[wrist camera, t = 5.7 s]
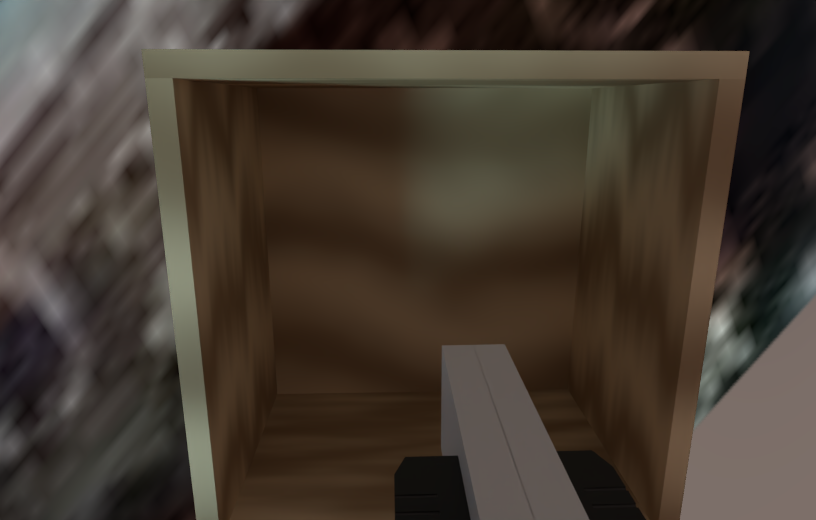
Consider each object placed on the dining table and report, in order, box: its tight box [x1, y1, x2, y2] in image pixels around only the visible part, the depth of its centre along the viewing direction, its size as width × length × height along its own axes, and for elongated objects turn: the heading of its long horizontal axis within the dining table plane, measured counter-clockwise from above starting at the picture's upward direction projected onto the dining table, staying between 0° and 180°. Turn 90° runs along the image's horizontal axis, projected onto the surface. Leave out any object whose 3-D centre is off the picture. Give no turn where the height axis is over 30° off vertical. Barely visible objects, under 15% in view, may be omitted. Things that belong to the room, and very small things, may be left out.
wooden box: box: [142, 49, 750, 520], centre depth 25 cm, size 18×18×12 cm
